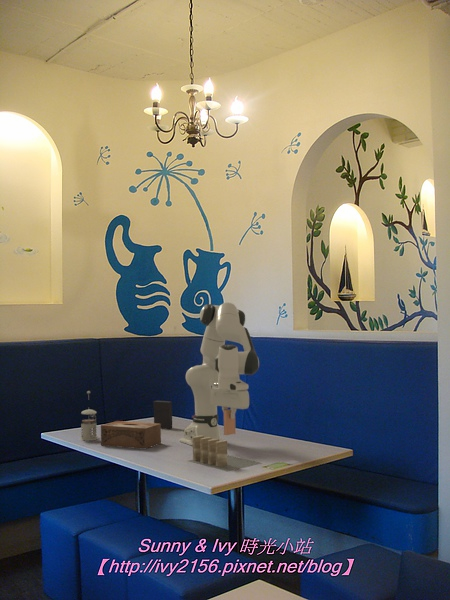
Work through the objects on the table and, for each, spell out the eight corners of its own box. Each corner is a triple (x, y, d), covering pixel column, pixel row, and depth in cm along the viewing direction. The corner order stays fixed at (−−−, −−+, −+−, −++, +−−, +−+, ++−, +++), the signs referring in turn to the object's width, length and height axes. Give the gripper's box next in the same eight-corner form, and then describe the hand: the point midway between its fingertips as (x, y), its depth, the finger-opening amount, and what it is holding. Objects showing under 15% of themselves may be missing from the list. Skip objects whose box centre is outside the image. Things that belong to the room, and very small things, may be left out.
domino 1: (193, 460, 274) (192, 437, 275) (201, 458, 278) (201, 435, 278) (195, 460, 273) (195, 437, 273) (204, 459, 277) (204, 435, 277)
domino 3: (208, 464, 267) (207, 440, 267) (217, 462, 270) (216, 438, 271) (210, 464, 266) (210, 440, 266) (219, 462, 269) (219, 439, 269)
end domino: (223, 434, 260) (223, 410, 260) (232, 433, 263) (232, 408, 264) (226, 435, 259) (226, 410, 259) (235, 433, 262) (235, 409, 262)
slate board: (186, 463, 274) (186, 460, 274) (221, 455, 287) (221, 453, 287) (227, 473, 254) (227, 471, 254) (262, 465, 268) (262, 463, 268)
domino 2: (200, 462, 271) (200, 438, 271) (209, 460, 274) (209, 437, 274) (202, 462, 270) (202, 439, 270) (211, 460, 273) (211, 437, 273)
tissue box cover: (101, 445, 315) (100, 425, 315) (117, 440, 328) (117, 420, 328) (145, 449, 304) (145, 428, 305) (160, 443, 317) (160, 423, 318)
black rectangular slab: (173, 428, 361) (172, 401, 361) (168, 429, 357) (168, 402, 357) (157, 426, 366) (157, 400, 367) (153, 427, 363) (152, 401, 363)
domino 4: (215, 466, 263) (215, 441, 264) (224, 464, 267) (224, 440, 267) (218, 466, 262) (218, 442, 262) (227, 464, 265) (227, 440, 266)
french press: (76, 440, 328) (75, 391, 329) (86, 436, 339) (85, 389, 340) (93, 441, 326) (93, 392, 326) (103, 436, 337) (102, 389, 337)
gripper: (206, 383, 267) (207, 416, 267) (240, 386, 252) (240, 421, 252) (217, 382, 271) (218, 414, 271) (251, 385, 256) (252, 419, 256)
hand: (229, 418), depth 261 cm, fingers closed on end domino, 2 cm apart
